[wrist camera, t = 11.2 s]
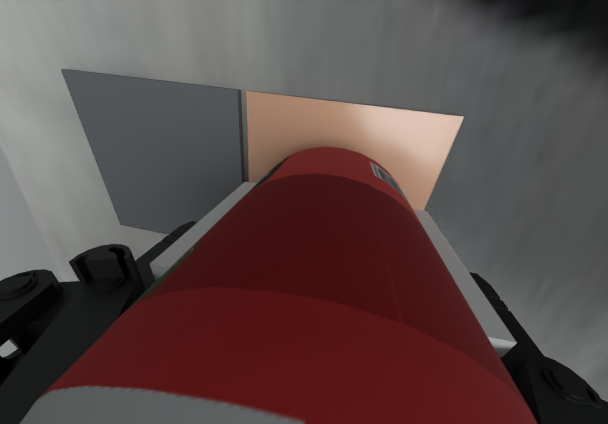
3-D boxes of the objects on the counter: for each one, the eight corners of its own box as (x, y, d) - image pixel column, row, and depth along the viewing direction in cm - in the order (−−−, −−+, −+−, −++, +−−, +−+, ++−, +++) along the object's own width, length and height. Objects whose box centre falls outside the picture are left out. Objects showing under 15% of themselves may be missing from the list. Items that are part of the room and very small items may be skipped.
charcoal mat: (247, 246, 17) (245, 249, 17) (124, 222, 18) (120, 224, 18) (240, 90, 12) (237, 89, 12) (68, 69, 13) (60, 68, 13)
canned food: (261, 134, 11) (-292, 392, 1) (425, 152, 10) (1777, 1152, 1) (263, 251, 15) (112, 538, 5) (383, 272, 14) (465, 667, 4)
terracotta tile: (393, 275, 16) (394, 279, 16) (252, 247, 17) (250, 250, 17) (460, 116, 11) (464, 116, 10) (249, 91, 12) (246, 91, 12)
